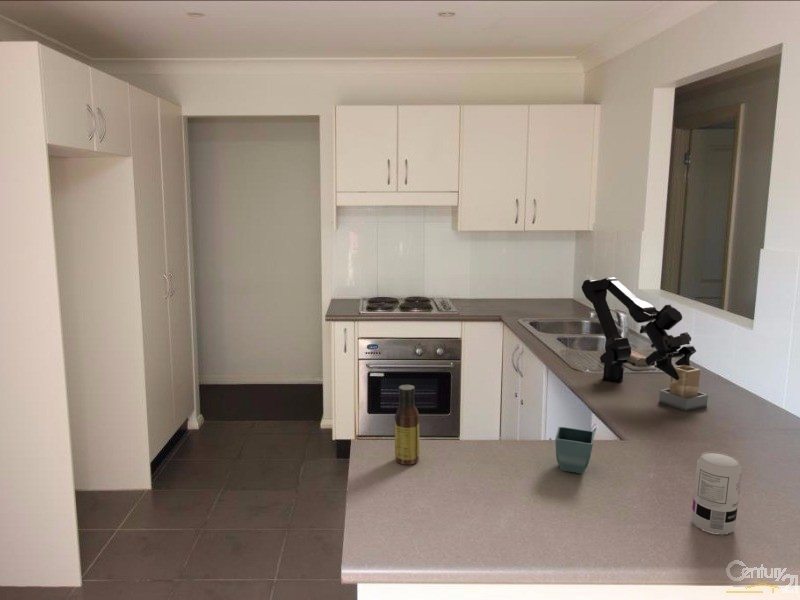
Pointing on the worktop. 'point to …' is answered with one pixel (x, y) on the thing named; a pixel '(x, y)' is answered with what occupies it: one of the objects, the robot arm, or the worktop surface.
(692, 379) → the tall pine crate
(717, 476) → the supplement can
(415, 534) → the worktop surface
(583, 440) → the flower pot
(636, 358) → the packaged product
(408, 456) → the sauce bottle
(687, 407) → the grey square tray
